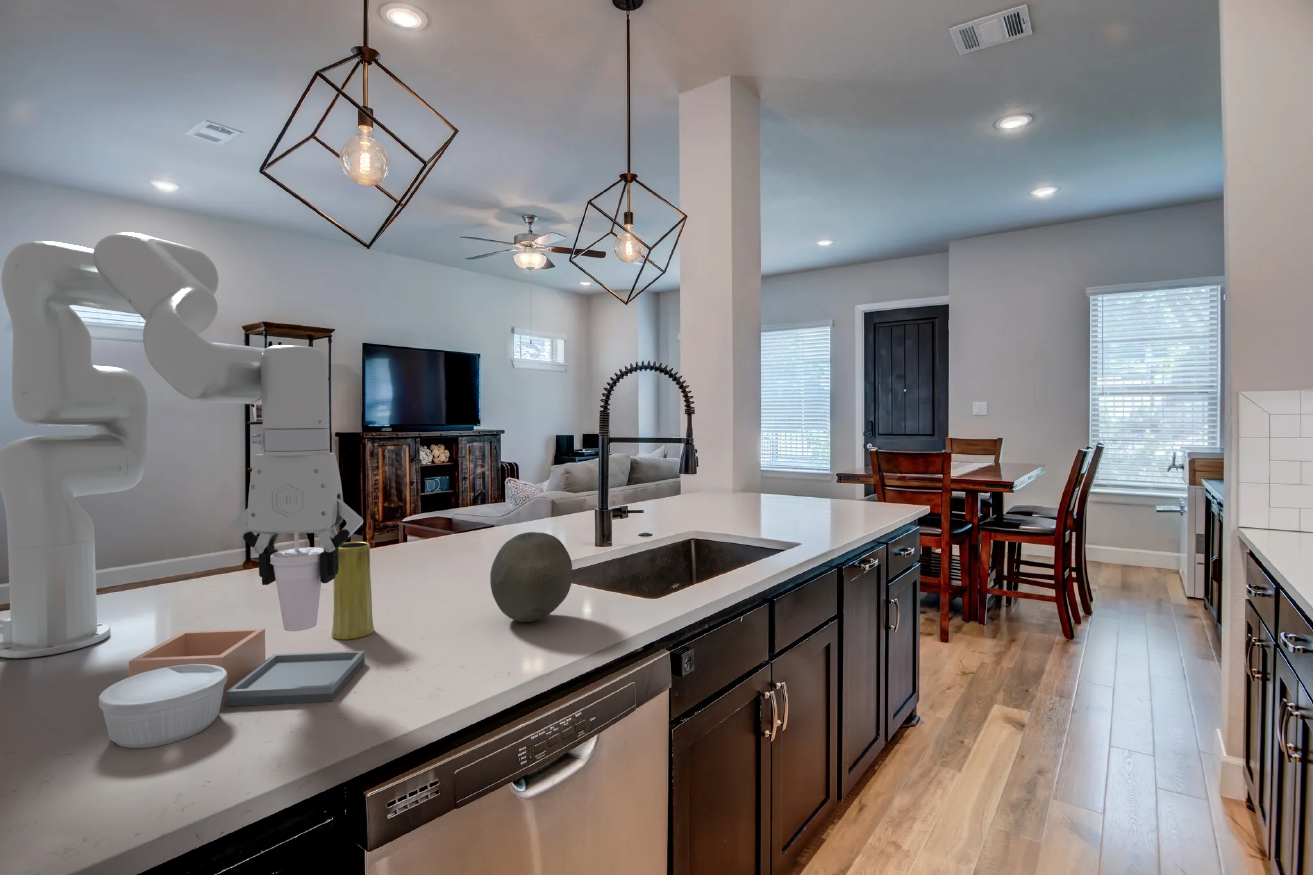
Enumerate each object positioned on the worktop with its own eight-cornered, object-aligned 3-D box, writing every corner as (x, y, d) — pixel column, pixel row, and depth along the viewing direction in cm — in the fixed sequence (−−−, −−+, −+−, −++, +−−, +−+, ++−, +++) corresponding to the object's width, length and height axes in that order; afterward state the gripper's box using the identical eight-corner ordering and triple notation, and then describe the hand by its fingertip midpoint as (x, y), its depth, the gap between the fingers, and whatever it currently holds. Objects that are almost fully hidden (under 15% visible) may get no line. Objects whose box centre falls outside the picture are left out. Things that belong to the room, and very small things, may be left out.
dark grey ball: (472, 630, 103) (471, 538, 103) (516, 605, 117) (516, 524, 116) (551, 639, 99) (550, 544, 99) (587, 612, 113) (587, 528, 112)
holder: (130, 701, 78) (128, 660, 77) (184, 667, 88) (183, 631, 88) (223, 697, 79) (222, 657, 79) (265, 663, 89) (264, 628, 89)
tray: (226, 706, 76) (225, 691, 76) (274, 666, 88) (273, 654, 88) (331, 701, 78) (331, 686, 78) (364, 663, 90) (364, 650, 90)
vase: (357, 641, 98) (356, 549, 98) (322, 638, 99) (321, 547, 99) (381, 628, 104) (380, 541, 104) (348, 625, 105) (347, 540, 105)
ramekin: (248, 705, 77) (247, 662, 77) (183, 754, 66) (182, 704, 66) (153, 706, 77) (152, 662, 76) (71, 756, 65) (69, 705, 65)
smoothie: (315, 615, 87) (313, 513, 87) (337, 625, 83) (334, 518, 83) (263, 627, 82) (260, 519, 82) (283, 638, 78) (280, 525, 78)
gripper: (207, 444, 77) (211, 591, 78) (357, 443, 79) (359, 587, 80) (240, 442, 85) (243, 576, 85) (376, 441, 87) (378, 572, 87)
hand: (299, 580), depth 82 cm, fingers closed on smoothie, 6 cm apart
